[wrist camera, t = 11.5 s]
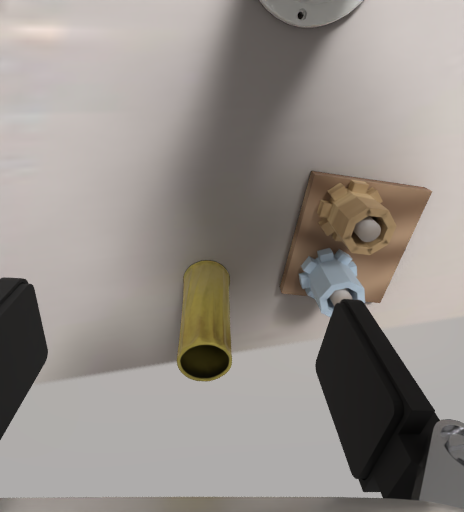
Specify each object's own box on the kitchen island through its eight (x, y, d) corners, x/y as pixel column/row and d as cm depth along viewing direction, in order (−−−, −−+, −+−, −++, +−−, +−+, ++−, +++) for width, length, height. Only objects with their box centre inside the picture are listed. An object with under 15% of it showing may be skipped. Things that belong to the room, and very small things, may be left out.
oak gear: (327, 176, 35) (347, 194, 30) (387, 184, 36) (416, 203, 31) (310, 233, 39) (325, 258, 34) (365, 240, 40) (388, 265, 34)
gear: (295, 255, 40) (308, 283, 35) (351, 242, 40) (372, 268, 35) (302, 299, 44) (315, 330, 38) (354, 287, 43) (374, 317, 38)
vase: (239, 274, 43) (249, 356, 31) (211, 305, 45) (211, 393, 33) (201, 251, 41) (196, 328, 29) (174, 284, 43) (159, 369, 31)
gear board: (311, 170, 37) (332, 192, 30) (424, 187, 38) (468, 210, 32) (279, 286, 44) (291, 323, 38) (375, 296, 46) (402, 333, 39)
